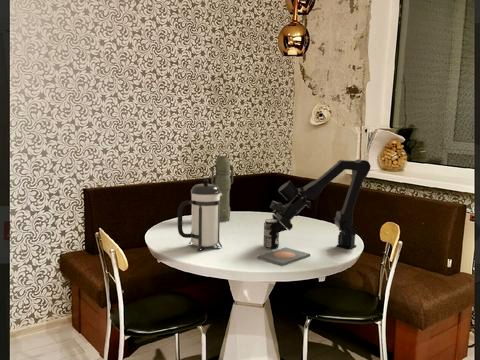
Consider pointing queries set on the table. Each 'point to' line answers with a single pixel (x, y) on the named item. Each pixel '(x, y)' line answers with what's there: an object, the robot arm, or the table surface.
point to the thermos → (223, 184)
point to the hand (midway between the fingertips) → (268, 232)
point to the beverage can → (270, 240)
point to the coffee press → (203, 215)
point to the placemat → (284, 256)
